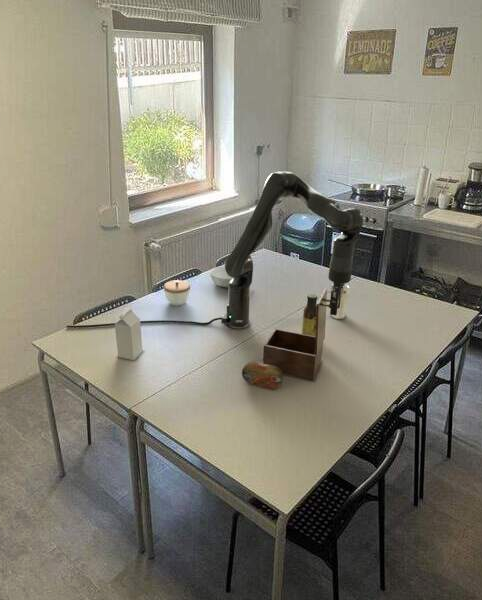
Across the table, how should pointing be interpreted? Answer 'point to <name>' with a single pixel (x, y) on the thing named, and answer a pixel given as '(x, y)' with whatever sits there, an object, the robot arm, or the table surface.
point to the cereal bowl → (220, 276)
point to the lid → (321, 320)
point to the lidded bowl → (177, 292)
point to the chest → (292, 354)
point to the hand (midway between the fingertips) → (334, 310)
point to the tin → (262, 375)
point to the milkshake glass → (342, 304)
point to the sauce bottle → (310, 316)
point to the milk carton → (128, 336)
